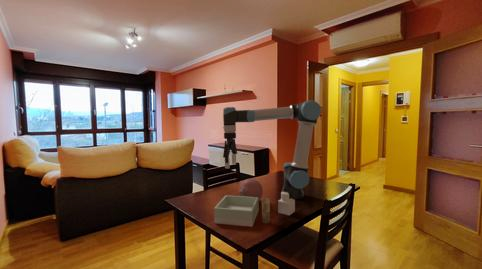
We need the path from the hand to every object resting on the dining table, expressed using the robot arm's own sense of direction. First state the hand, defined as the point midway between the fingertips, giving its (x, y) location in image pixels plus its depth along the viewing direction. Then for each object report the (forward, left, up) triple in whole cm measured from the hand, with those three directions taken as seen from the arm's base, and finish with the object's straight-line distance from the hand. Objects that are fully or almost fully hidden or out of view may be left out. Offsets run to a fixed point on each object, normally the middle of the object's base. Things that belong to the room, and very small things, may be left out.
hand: (230, 166), depth 142 cm
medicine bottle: (-34, +6, -25) cm, 43 cm away
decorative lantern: (-10, -3, -25) cm, 27 cm away
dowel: (-24, +20, -25) cm, 40 cm away
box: (-8, +17, -25) cm, 31 cm away
